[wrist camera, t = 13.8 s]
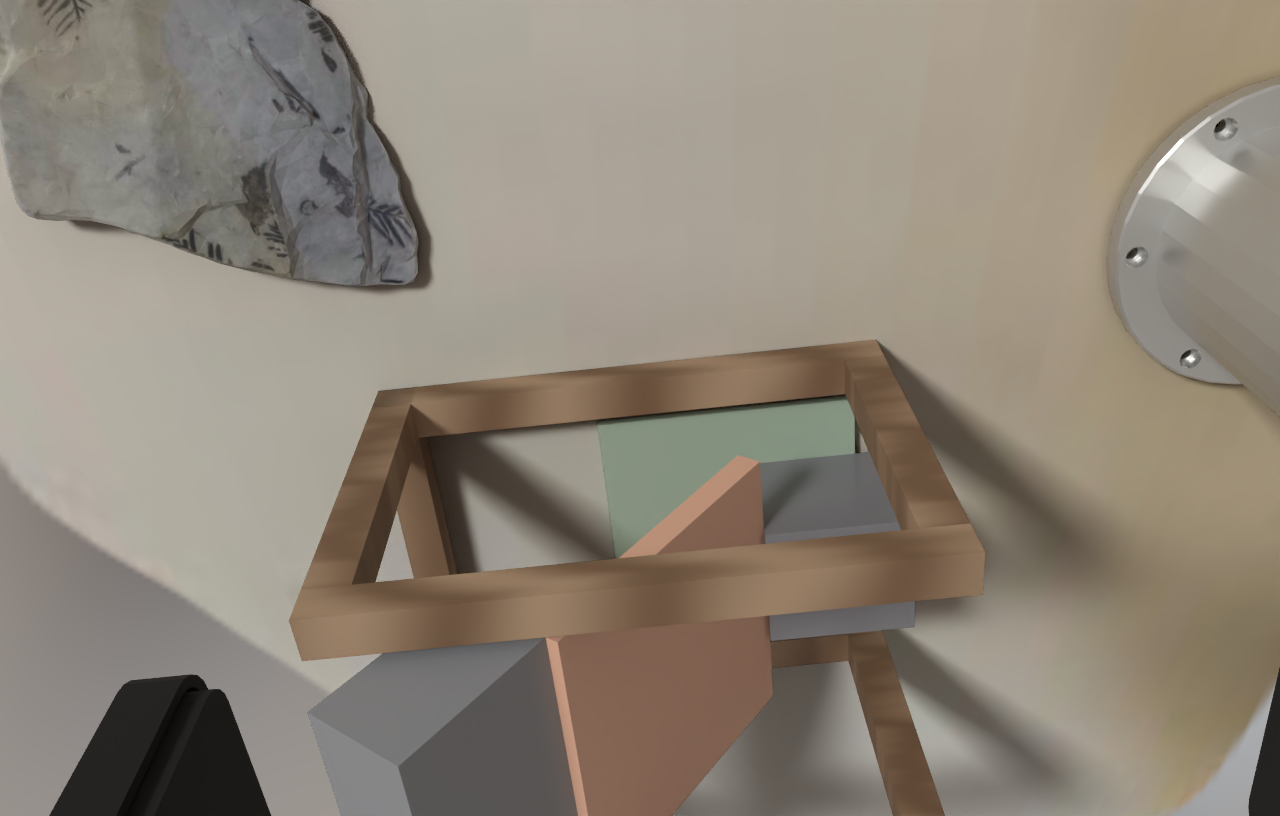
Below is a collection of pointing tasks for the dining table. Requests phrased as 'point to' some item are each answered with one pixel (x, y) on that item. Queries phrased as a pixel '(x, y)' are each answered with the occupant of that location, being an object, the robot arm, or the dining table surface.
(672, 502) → the mat
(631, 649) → the trapdoor
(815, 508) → the grey block
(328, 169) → the fossil rock
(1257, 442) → the dining table surface
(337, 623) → the stand
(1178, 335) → the robot arm
